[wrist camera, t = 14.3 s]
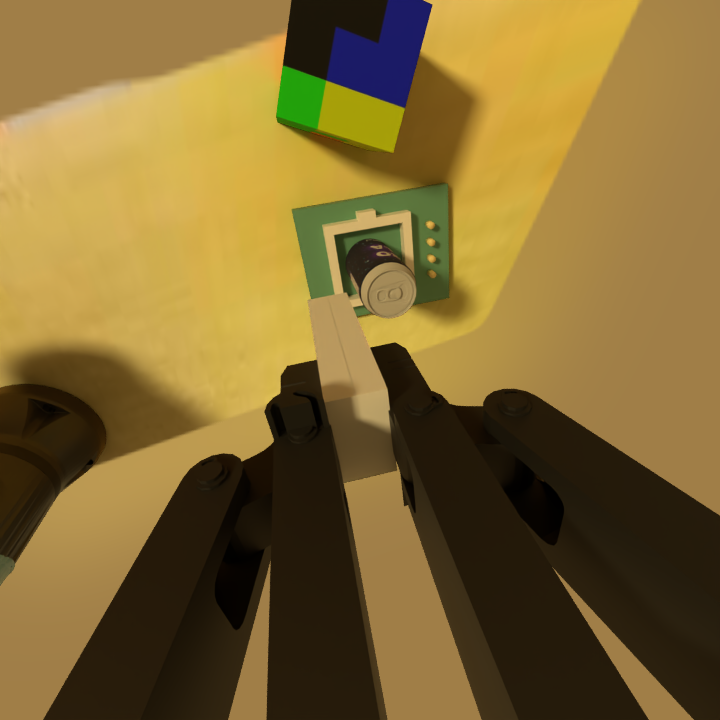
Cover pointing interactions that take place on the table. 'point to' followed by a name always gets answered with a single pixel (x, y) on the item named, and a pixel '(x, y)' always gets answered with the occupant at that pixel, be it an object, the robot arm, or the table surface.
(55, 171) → the table surface
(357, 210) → the header board
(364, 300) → the beverage can
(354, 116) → the puzzle toy
